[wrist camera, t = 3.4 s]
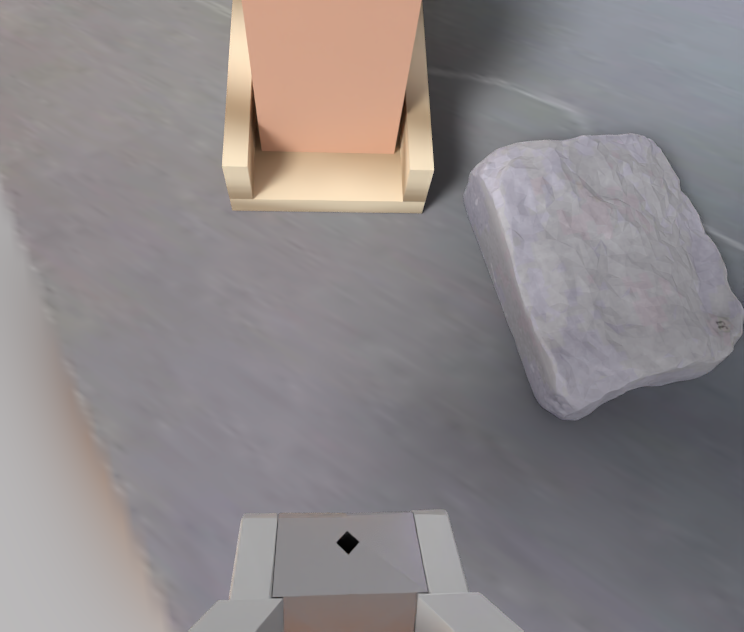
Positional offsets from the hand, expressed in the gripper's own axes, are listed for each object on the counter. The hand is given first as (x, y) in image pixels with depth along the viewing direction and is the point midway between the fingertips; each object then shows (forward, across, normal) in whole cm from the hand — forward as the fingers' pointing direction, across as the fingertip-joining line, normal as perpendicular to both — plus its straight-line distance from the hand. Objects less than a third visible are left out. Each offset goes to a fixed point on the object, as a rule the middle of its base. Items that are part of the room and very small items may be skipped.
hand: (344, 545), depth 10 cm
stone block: (+20, -12, +3) cm, 24 cm away
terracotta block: (+25, 0, -4) cm, 25 cm away
